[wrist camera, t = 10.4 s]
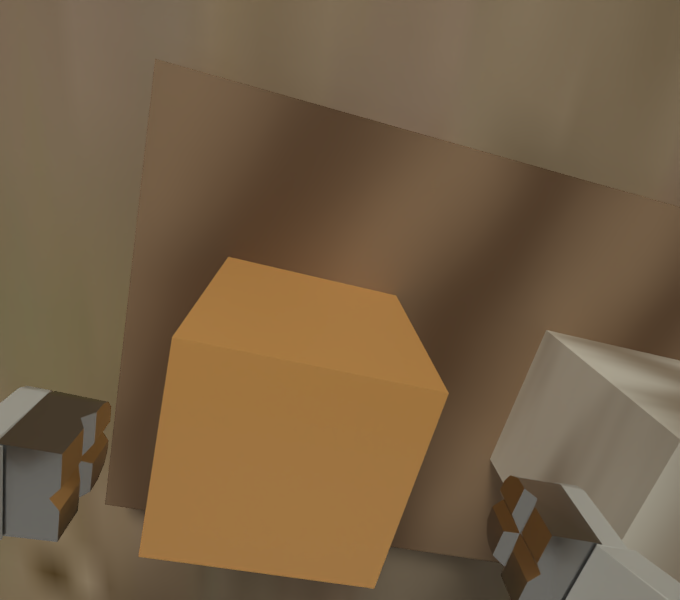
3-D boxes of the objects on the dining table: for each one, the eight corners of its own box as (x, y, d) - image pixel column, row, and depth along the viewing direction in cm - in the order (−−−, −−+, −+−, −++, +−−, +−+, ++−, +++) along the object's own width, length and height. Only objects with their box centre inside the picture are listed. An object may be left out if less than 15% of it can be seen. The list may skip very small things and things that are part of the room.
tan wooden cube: (396, 295, 14) (448, 393, 8) (352, 433, 15) (374, 588, 10) (228, 256, 13) (172, 336, 8) (200, 406, 14) (138, 556, 9)
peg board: (778, 238, 15) (1134, 314, 9) (600, 549, 20) (746, 756, 13) (172, 67, 12) (17, -11, 6) (122, 473, 17) (0, 689, 10)
